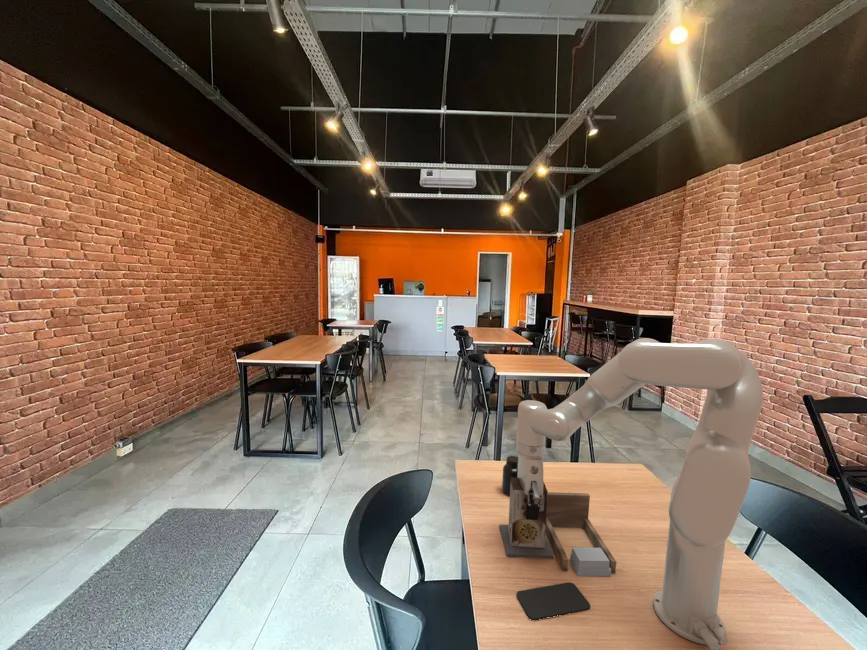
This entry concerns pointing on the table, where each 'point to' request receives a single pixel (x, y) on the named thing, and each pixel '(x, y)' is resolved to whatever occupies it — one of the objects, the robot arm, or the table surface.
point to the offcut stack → (590, 562)
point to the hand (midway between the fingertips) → (527, 508)
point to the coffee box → (519, 526)
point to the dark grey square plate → (524, 551)
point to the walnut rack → (571, 523)
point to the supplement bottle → (509, 473)
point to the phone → (552, 601)
